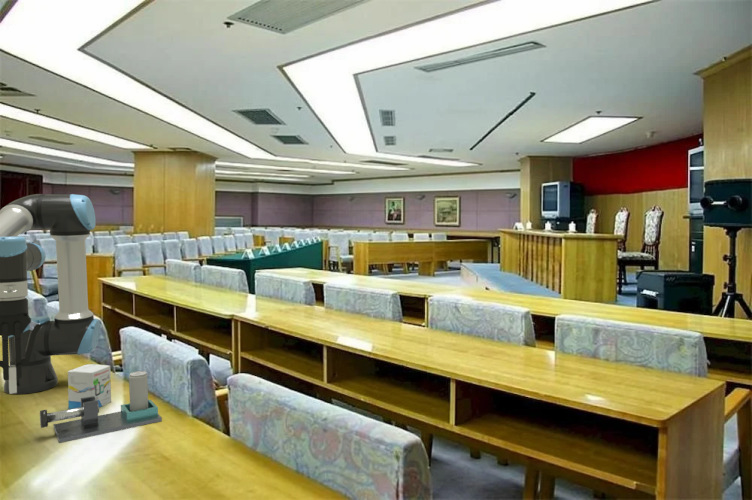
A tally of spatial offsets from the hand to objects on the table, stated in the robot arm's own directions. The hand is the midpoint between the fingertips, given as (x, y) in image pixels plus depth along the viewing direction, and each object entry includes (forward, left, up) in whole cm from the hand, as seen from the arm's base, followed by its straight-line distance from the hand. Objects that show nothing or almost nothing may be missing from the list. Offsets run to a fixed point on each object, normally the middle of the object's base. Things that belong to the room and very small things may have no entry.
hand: (12, 391), depth 135 cm
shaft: (0, +12, -11) cm, 16 cm away
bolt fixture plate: (0, +22, -13) cm, 25 cm away
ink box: (-20, +20, -14) cm, 32 cm away
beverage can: (0, +30, -13) cm, 32 cm away
